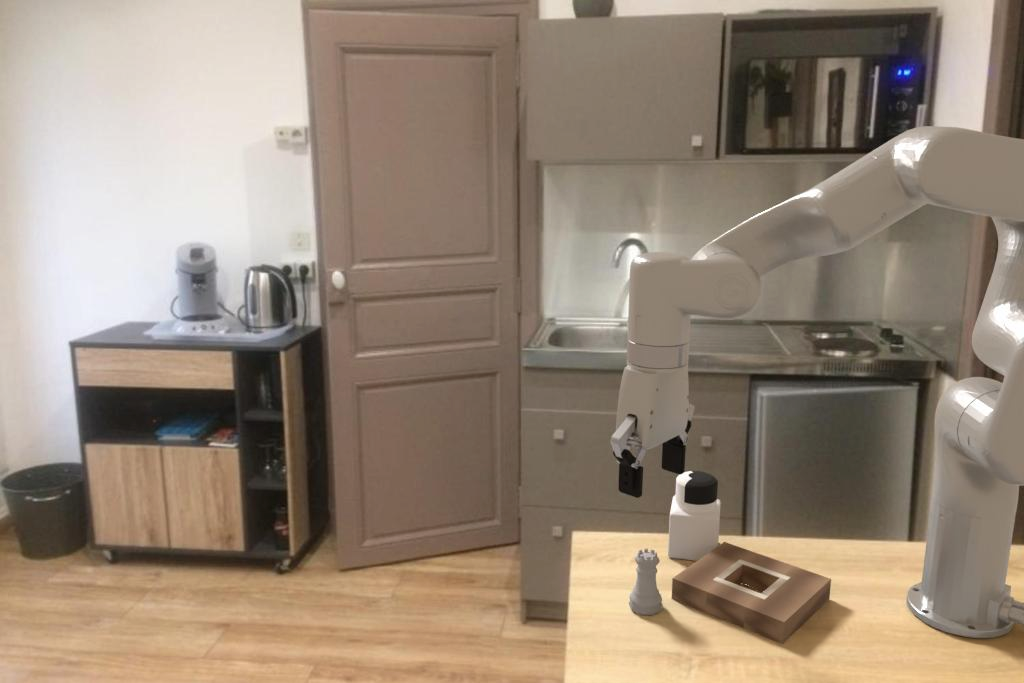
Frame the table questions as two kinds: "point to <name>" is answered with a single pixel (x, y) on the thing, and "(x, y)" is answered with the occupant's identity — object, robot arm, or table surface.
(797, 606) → the board
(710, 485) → the medicine bottle
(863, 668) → the table surface
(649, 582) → the rook chess piece
